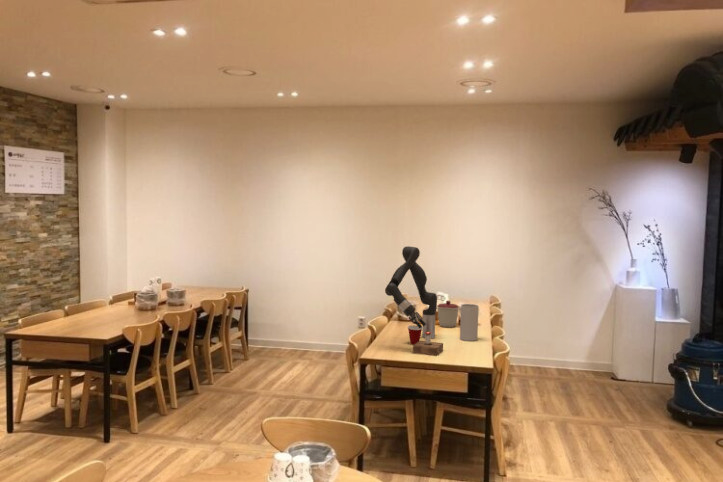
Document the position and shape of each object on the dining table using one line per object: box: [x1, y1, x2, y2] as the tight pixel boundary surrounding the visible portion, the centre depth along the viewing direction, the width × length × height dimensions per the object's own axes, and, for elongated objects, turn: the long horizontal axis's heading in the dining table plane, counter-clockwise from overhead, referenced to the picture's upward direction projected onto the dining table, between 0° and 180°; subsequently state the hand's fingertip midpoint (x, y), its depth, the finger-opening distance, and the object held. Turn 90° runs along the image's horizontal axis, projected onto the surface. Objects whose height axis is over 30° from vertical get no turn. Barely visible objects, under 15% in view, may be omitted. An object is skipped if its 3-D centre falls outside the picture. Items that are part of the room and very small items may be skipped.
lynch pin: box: [424, 331, 431, 345], centre depth 378 cm, size 4×4×13 cm
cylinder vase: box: [459, 303, 479, 342], centre depth 417 cm, size 12×12×25 cm
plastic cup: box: [407, 324, 423, 345], centre depth 400 cm, size 11×11×12 cm
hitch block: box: [412, 340, 444, 357], centre depth 378 cm, size 16×16×5 cm
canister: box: [437, 300, 460, 328], centre depth 464 cm, size 18×18×21 cm
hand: (423, 326), depth 379 cm, fingers open, 8 cm apart
